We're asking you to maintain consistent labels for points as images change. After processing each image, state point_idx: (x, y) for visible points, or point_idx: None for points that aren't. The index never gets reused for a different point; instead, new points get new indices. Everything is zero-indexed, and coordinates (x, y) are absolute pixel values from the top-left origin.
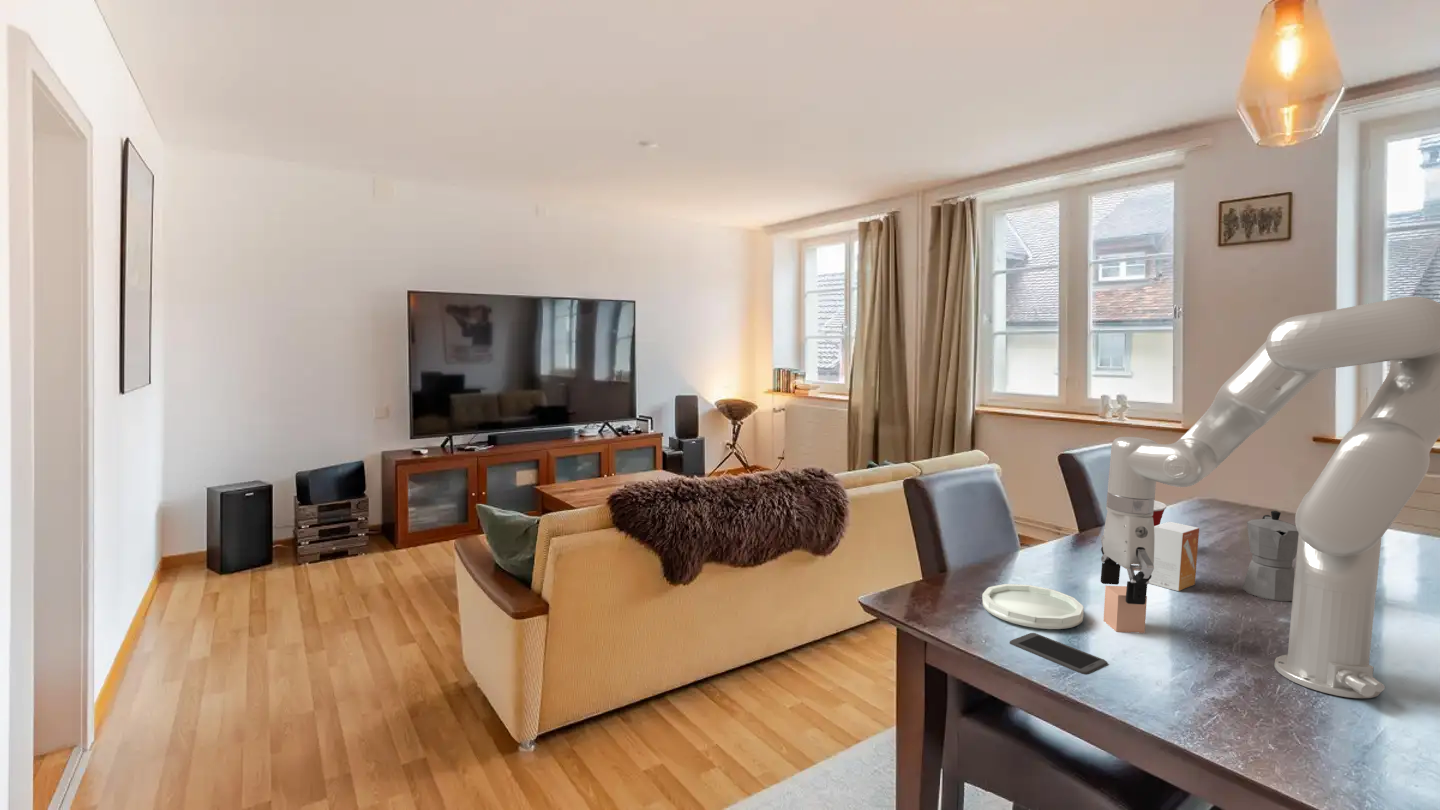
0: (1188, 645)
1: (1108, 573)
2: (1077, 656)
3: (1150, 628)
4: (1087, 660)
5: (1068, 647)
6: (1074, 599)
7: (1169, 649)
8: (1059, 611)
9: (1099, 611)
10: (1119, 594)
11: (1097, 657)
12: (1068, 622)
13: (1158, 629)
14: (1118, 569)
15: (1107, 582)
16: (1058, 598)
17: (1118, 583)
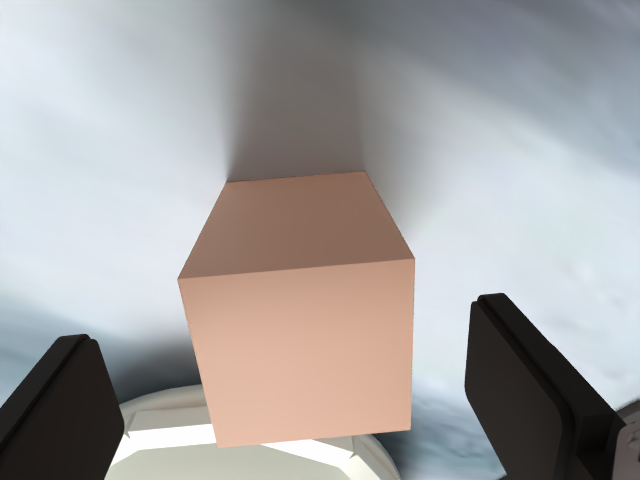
0: (509, 3)
1: (81, 475)
2: None
3: (297, 114)
4: None
5: None
6: (157, 434)
7: (551, 134)
8: (275, 477)
9: (118, 282)
10: (395, 420)
11: None
12: (389, 471)
13: (304, 73)
14: (29, 451)
15: (114, 410)
16: None
17: (93, 340)
